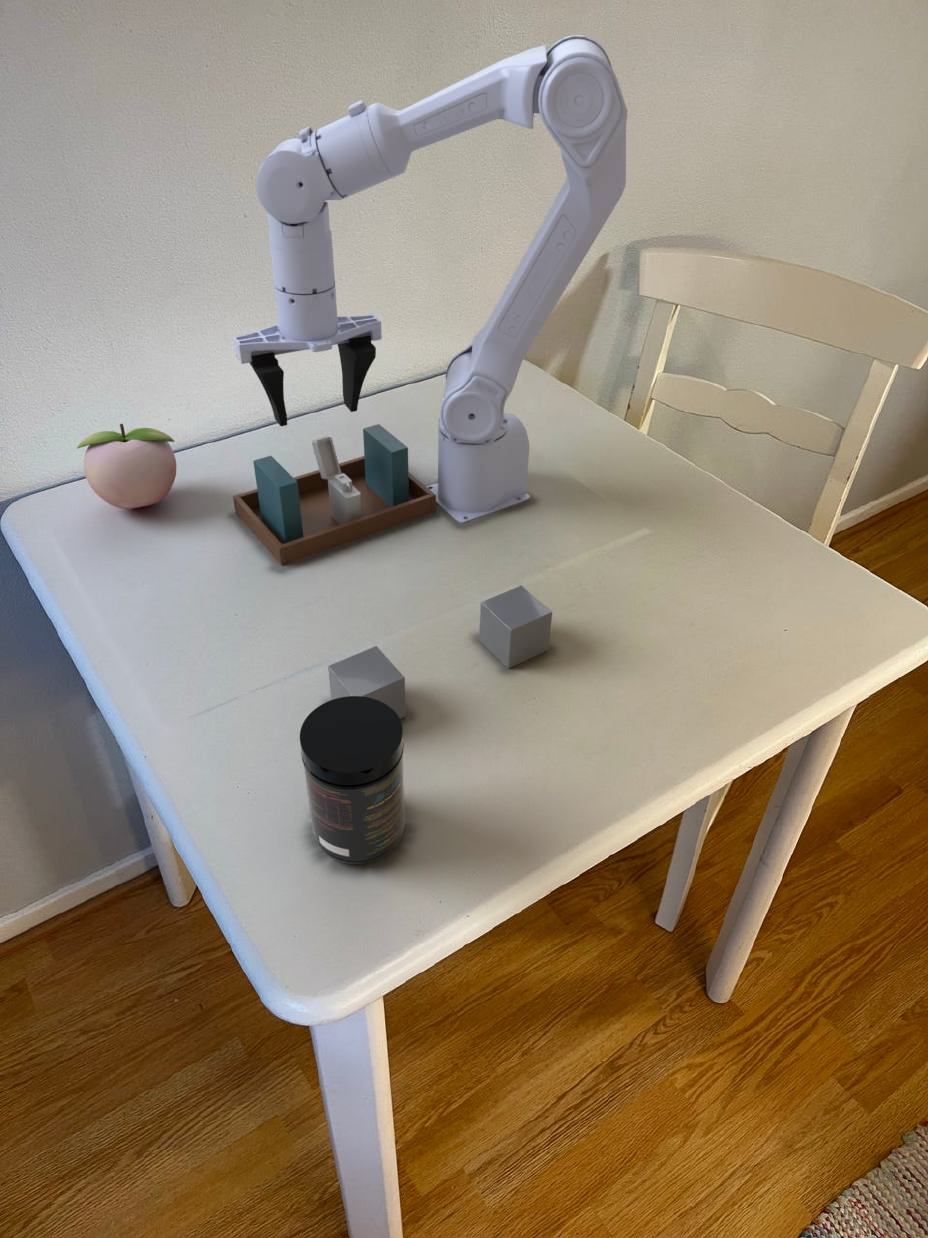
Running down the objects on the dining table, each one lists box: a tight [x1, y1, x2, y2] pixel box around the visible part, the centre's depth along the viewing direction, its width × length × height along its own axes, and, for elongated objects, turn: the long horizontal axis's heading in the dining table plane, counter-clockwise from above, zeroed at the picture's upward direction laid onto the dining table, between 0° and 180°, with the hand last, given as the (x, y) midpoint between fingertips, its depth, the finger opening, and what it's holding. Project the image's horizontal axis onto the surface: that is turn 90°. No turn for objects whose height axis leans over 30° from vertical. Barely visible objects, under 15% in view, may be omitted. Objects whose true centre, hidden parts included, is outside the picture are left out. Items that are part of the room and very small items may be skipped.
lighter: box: [311, 436, 362, 525], centre depth 93 cm, size 7×2×8 cm, turn 35°
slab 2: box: [362, 423, 409, 507], centre depth 96 cm, size 2×6×7 cm, turn 34°
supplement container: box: [299, 696, 406, 865], centre depth 62 cm, size 7×7×10 cm
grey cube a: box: [478, 585, 553, 669], centre depth 80 cm, size 4×4×4 cm
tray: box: [232, 455, 437, 567], centre depth 95 cm, size 18×11×2 cm, turn 124°
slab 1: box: [253, 455, 303, 544], centre depth 91 cm, size 2×6×7 cm, turn 34°
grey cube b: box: [327, 645, 407, 720], centre depth 73 cm, size 4×4×4 cm
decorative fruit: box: [76, 423, 177, 510], centre depth 93 cm, size 9×8×10 cm
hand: (316, 414), depth 94 cm, fingers open, 7 cm apart
